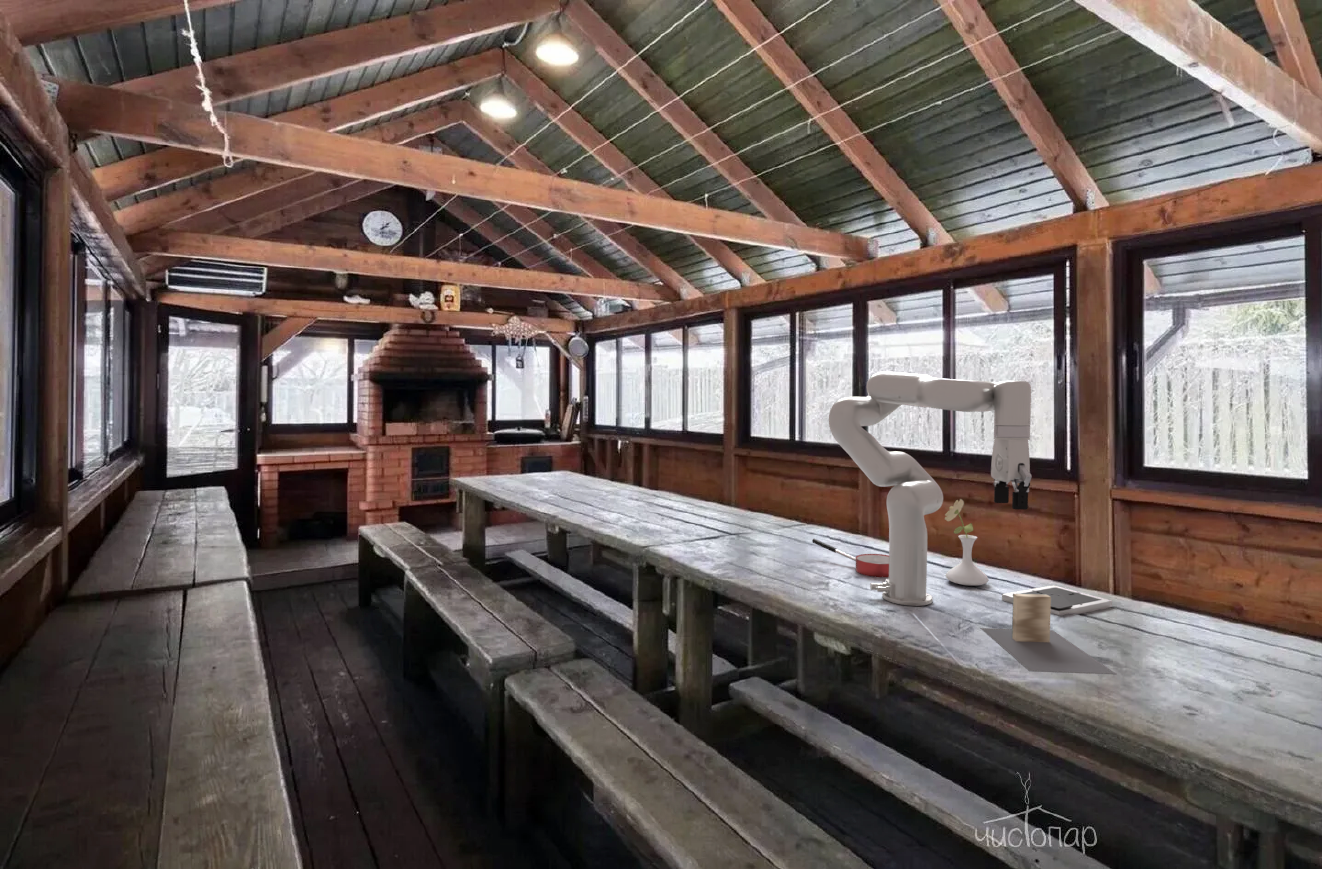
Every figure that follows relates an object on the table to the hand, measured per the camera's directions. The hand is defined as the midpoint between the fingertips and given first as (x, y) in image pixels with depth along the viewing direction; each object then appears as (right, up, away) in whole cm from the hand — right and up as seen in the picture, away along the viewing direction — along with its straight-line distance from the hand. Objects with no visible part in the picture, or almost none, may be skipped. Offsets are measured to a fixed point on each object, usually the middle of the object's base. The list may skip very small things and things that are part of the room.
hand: (1010, 505), depth 153 cm
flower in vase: (+6, -27, +36) cm, 45 cm away
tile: (-1, -28, -11) cm, 30 cm away
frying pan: (-22, -26, +56) cm, 65 cm away
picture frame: (+21, -28, +17) cm, 39 cm away
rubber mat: (-2, -29, -16) cm, 33 cm away
